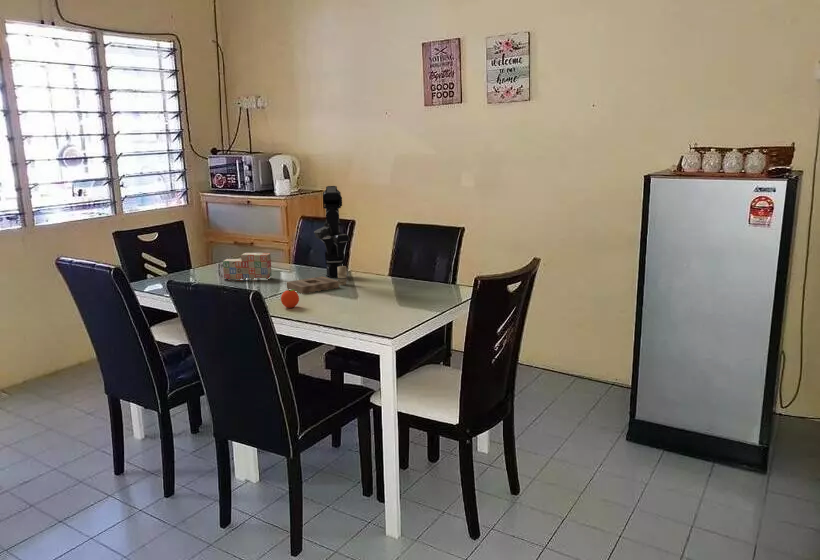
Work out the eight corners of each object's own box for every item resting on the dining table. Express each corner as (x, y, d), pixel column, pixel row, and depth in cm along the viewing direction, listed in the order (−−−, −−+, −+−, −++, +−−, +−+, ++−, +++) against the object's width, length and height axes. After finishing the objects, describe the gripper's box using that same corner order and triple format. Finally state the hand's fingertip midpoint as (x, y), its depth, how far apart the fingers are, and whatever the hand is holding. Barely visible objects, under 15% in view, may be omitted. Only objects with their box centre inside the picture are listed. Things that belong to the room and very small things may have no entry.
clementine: (293, 303, 258) (292, 286, 257) (305, 306, 254) (304, 288, 252) (277, 307, 252) (276, 290, 251) (289, 310, 248) (288, 292, 246)
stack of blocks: (223, 280, 305) (221, 254, 302) (228, 277, 311) (226, 252, 308) (268, 280, 303) (266, 254, 300) (272, 278, 309) (270, 252, 306)
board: (322, 282, 296) (322, 276, 295) (338, 287, 285) (338, 281, 285) (286, 288, 285) (286, 281, 285) (302, 294, 274) (302, 287, 274)
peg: (344, 283, 295) (343, 265, 293) (348, 284, 292) (348, 267, 290) (336, 284, 292) (335, 266, 291) (341, 285, 289) (340, 268, 288)
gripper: (306, 220, 289) (308, 254, 292) (326, 224, 274) (328, 260, 277) (328, 218, 295) (330, 252, 299) (349, 221, 280) (350, 257, 284)
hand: (334, 255), depth 289 cm, fingers open, 9 cm apart
